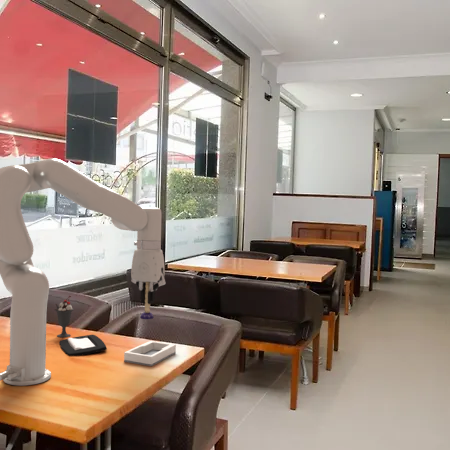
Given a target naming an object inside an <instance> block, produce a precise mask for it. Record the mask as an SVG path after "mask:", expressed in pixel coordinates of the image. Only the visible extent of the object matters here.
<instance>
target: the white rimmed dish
mask: <svg viewBox="0 0 450 450" xmlns="http://www.w3.org/2000/svg"><path fill="white" fill-rule="evenodd" d="M176 346H177V345H176V344H173V343H169V342H168V343H167V342H162V341H161V342H160V341H156V340H155V341H154V340H148V341H147V342H144V343H142V344H140V345H138V346H137V345H136V347H133V348H131V349H129V350H127V351H124V355H123V363H130V364H134V365H135V364H137V365H141V366H147V367H153V366H155V365H157V364H159V363H160V362H163V361H164V360H166V359H168V358H169V357H172V356H173V355H175V354H176V352H177V351H176V348H177V347H176Z"/></svg>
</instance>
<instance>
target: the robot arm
mask: <svg viewBox="0 0 450 450" xmlns="http://www.w3.org/2000/svg"><path fill="white" fill-rule="evenodd" d="M46 189H50V190H53V191H55V192H56V193H57V194H60V195H61V196H63V197H65V198H67V199H68V200H70V201H71V202H73V203H75V204H77V205H78V206H80V207H81V208H83V209H87V210H89V211H92V212H96V213H99V214H102V215H104V216H106V217H109V218H110V220H111V224H112V225H113V226H114V227H116V228H117V229H119V230H123V231H131V232H137V238H136V241H134V242H133V245H134V246H136V249H134V252H133V255H132V262H131V274H130V276H131V279H130V281H131V282H132V283H133V284H135V285H136V287H138V290H139V291H140V303H141V304H145V294H146V293H145V289H146V287H145V285H146V282H150V291H148V304H150V305H151V304H154V303H155V300H156V291H157V290H158V289H159V288H160V287H163V286H165V285H166V279H165V257H164V254H163V253H164V252H163V250H162V249H161V248H162V247H161V245H162V210H161V208H159V207H154V206H153V207H150V206H146V207H145V206H144V207H143V206H140V205H138V204H137V203H135V202H134V201H132V200H131V199H129V198H127V197H126V196H124V195H122V194H120V193H118V192H116V191H115V190H112V189H111V188H109V187H107V186H105V185H103V184H101V183H99V182H97V181H95V180H94V179H93V178H90V177H89V176H87V175H86V174H84V173H83V172H81V171H79V169H77V168H75V167H73V166H72V165H70V164H68V163H67V162H65V161H63V160H61V159H60V158H59V159H58V158H48V159H43V160H39V161H34V162H29V163H22V164H16V165H14V164H11V165H8V166H4V167H3V166H2V167H0V278H1V280H2V282H3V284H4V287H5V288H6V290H7V291H8V292H9V293H10V294H11V304H10V305H11V306H10V313H9V314H10V316H9V317H10V318H9V320H10V321H9V328H10V329H9V331H10V332H9V365H6V369H5V370H4V371H2V372H0V381H2V380H3V382H4V383H5V384H7V385H10V386H21V387H22V386H31V385H32V386H33V385H38V384H41V383H44V382H46V381H48V380H50V378H51V377H52V372H51V370H49V369H47V368H46V358H47V357H46V355H47V352H46V351H47V311H48V309H47V307H48V301H49V294H50V283H49V279H48V277H47V275H46V274H45V272H44V271H42V270H41V269H39V268H37V267H35V266H34V263H33V261H32V257H33V254H34V244H33V241H32V239H31V236H30V233H29V231H28V228H27V226H26V225H27V224H26V223H25V220H24V216H23V213H22V209H21V202H22V199H23V197H24V195H25V194H28V193H33V192H37V191H42V190H46Z"/></svg>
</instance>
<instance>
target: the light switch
mask: <svg viewBox="0 0 450 450" xmlns="http://www.w3.org/2000/svg"><path fill="white" fill-rule="evenodd" d="M58 342H59V346H60V349H61V350H62V352H64V353H65V354H66V355H67V356H68V357H77V356H78V357H80V356H86V355H91V354H96V353H100V352H103V351H107V350H108V348H107V345H106V344H105V342H104V341H103V339H101V338H100V337H99V336H97V335H96V334H87V335H81V336H74V337H67V338H66V339H65V338H64V339H61V340H59V341H58Z"/></svg>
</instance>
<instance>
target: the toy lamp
mask: <svg viewBox="0 0 450 450" xmlns="http://www.w3.org/2000/svg"><path fill="white" fill-rule="evenodd" d="M145 287H146V289H145V293H146V294H145V303H144V312H142V313H141V314H140V318H139V319H141V320H152V319H154V315H153V313H152V312H151V304H148V291H150V282H146V285H145Z"/></svg>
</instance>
